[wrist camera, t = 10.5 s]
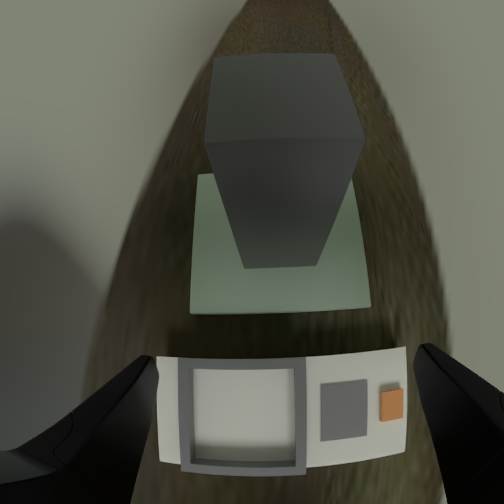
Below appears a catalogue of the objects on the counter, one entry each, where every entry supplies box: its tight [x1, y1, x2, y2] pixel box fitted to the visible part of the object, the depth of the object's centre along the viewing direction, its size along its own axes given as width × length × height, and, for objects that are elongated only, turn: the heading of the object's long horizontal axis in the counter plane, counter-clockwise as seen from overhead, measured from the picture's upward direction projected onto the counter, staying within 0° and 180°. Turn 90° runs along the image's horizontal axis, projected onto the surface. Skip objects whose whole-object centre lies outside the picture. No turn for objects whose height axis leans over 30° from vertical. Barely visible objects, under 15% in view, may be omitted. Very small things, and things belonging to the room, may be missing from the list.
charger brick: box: [204, 53, 366, 269], centre depth 12 cm, size 4×4×10 cm
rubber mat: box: [190, 173, 371, 314], centre depth 18 cm, size 9×10×1 cm
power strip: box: [157, 347, 407, 476], centre depth 13 cm, size 6×13×2 cm, turn 91°
